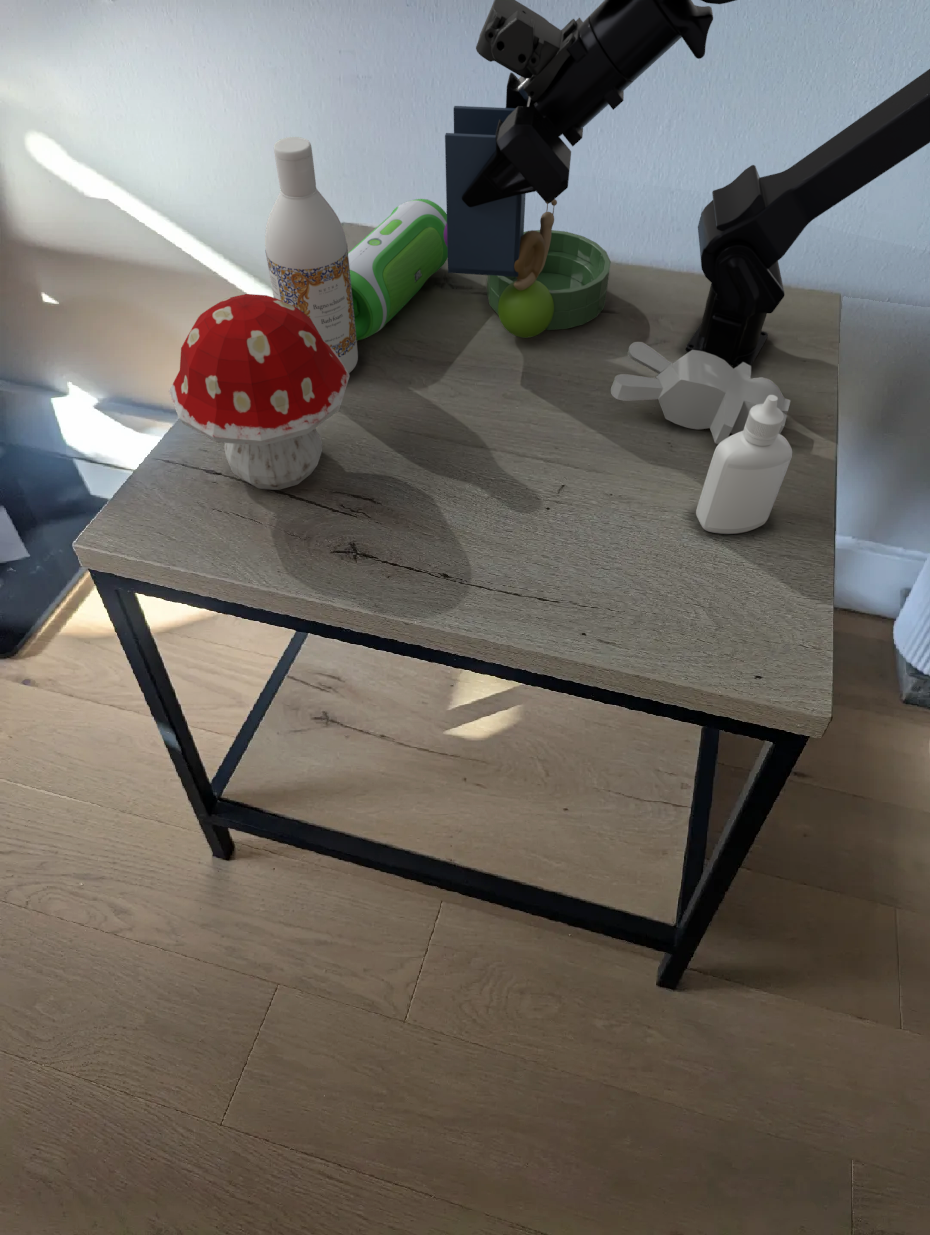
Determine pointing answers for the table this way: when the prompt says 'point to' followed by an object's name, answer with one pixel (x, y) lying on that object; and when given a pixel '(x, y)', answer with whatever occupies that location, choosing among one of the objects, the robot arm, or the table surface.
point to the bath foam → (310, 251)
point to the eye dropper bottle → (746, 473)
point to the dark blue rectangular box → (489, 229)
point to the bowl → (567, 280)
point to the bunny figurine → (698, 390)
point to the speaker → (395, 263)
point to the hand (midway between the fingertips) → (469, 185)
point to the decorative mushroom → (259, 387)
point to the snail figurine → (529, 285)
